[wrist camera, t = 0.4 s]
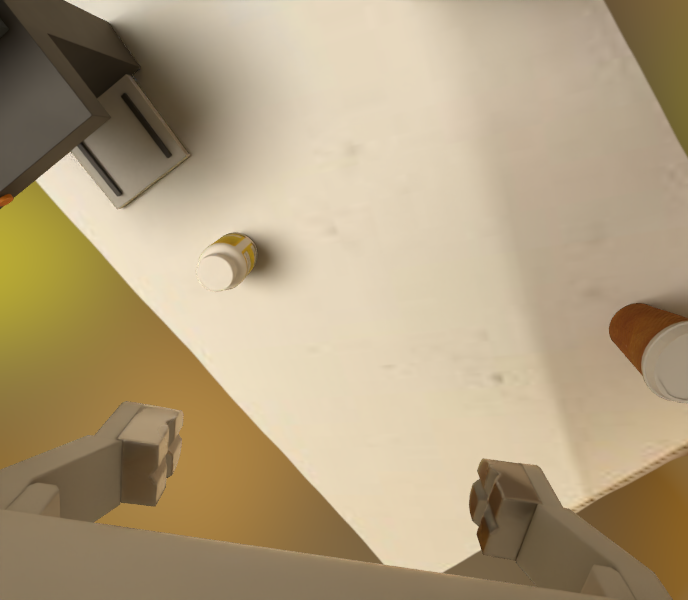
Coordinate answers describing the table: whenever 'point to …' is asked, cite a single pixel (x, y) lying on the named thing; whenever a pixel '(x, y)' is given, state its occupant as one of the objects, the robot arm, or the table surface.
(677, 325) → the disposable coffee cup
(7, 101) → the coffee maker
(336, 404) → the table surface
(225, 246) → the supplement bottle
